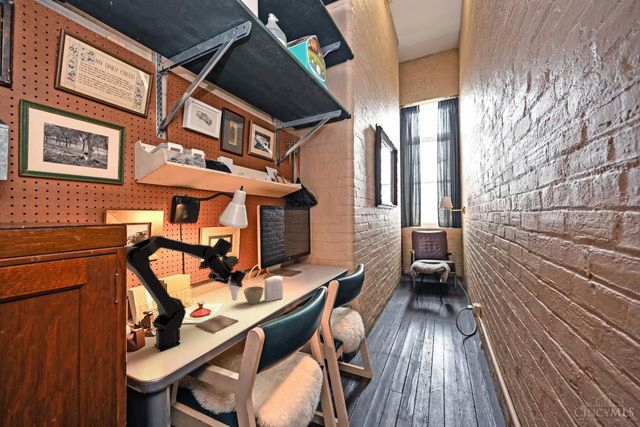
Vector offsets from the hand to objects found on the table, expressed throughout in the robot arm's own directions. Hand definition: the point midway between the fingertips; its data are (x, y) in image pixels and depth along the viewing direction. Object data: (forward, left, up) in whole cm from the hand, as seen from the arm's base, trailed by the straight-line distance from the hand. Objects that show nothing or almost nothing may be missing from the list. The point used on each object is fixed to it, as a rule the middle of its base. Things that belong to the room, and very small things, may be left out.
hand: (236, 285), depth 118 cm
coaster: (-11, -3, -13) cm, 18 cm away
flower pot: (+14, +7, -13) cm, 20 cm away
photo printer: (+24, +3, -13) cm, 27 cm away
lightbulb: (-1, -1, -7) cm, 7 cm away
